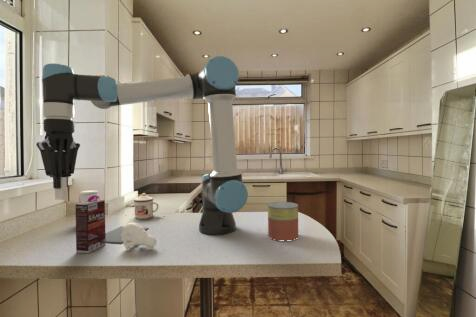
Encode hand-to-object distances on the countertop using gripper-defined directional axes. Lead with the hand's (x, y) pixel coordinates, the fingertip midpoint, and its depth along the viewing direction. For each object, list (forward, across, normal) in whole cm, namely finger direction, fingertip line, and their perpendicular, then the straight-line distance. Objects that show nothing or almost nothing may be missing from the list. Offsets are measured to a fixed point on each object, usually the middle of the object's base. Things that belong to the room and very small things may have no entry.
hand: (61, 199), depth 79 cm
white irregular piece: (+19, -14, +17) cm, 29 cm away
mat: (+19, -26, +1) cm, 32 cm away
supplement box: (+19, -11, 0) cm, 22 cm away
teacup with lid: (+19, -54, -5) cm, 58 cm away
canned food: (+18, -34, +63) cm, 74 cm away
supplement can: (+19, -38, -24) cm, 49 cm away
